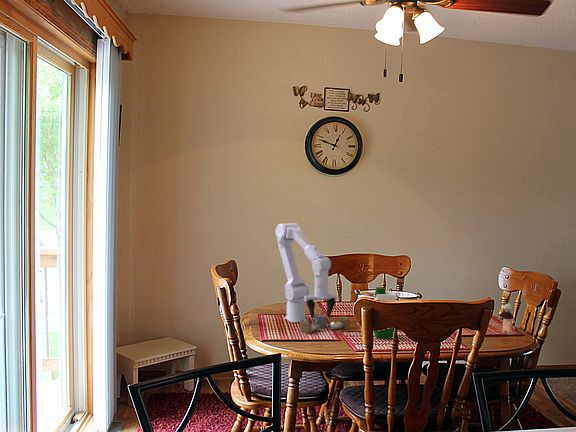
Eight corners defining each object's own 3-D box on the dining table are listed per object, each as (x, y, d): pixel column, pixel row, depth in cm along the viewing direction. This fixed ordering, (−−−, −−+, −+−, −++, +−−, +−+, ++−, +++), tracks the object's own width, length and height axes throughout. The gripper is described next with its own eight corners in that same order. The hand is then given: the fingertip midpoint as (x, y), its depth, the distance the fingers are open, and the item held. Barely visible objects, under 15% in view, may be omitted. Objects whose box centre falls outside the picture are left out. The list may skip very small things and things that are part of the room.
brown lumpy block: (313, 328, 247) (313, 318, 247) (321, 331, 243) (321, 321, 243) (300, 331, 242) (300, 321, 242) (307, 334, 238) (308, 323, 238)
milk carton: (371, 333, 242) (373, 285, 240) (393, 333, 242) (394, 286, 241) (374, 339, 233) (376, 290, 232) (397, 339, 233) (399, 290, 232)
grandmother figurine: (517, 334, 246) (518, 304, 245) (513, 335, 243) (514, 305, 242) (499, 330, 251) (500, 301, 251) (495, 331, 249) (496, 302, 248)
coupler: (313, 326, 252) (314, 314, 251) (322, 325, 253) (323, 314, 253) (317, 328, 248) (317, 317, 247) (326, 328, 249) (326, 316, 249)
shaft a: (332, 330, 245) (333, 320, 244) (328, 327, 249) (328, 317, 249) (349, 329, 247) (349, 319, 247) (344, 326, 252) (344, 316, 252)
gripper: (308, 287, 243) (308, 319, 244) (340, 286, 248) (339, 317, 249) (302, 284, 250) (302, 316, 251) (333, 283, 254) (333, 314, 255)
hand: (320, 316), depth 250 cm, fingers open, 7 cm apart
